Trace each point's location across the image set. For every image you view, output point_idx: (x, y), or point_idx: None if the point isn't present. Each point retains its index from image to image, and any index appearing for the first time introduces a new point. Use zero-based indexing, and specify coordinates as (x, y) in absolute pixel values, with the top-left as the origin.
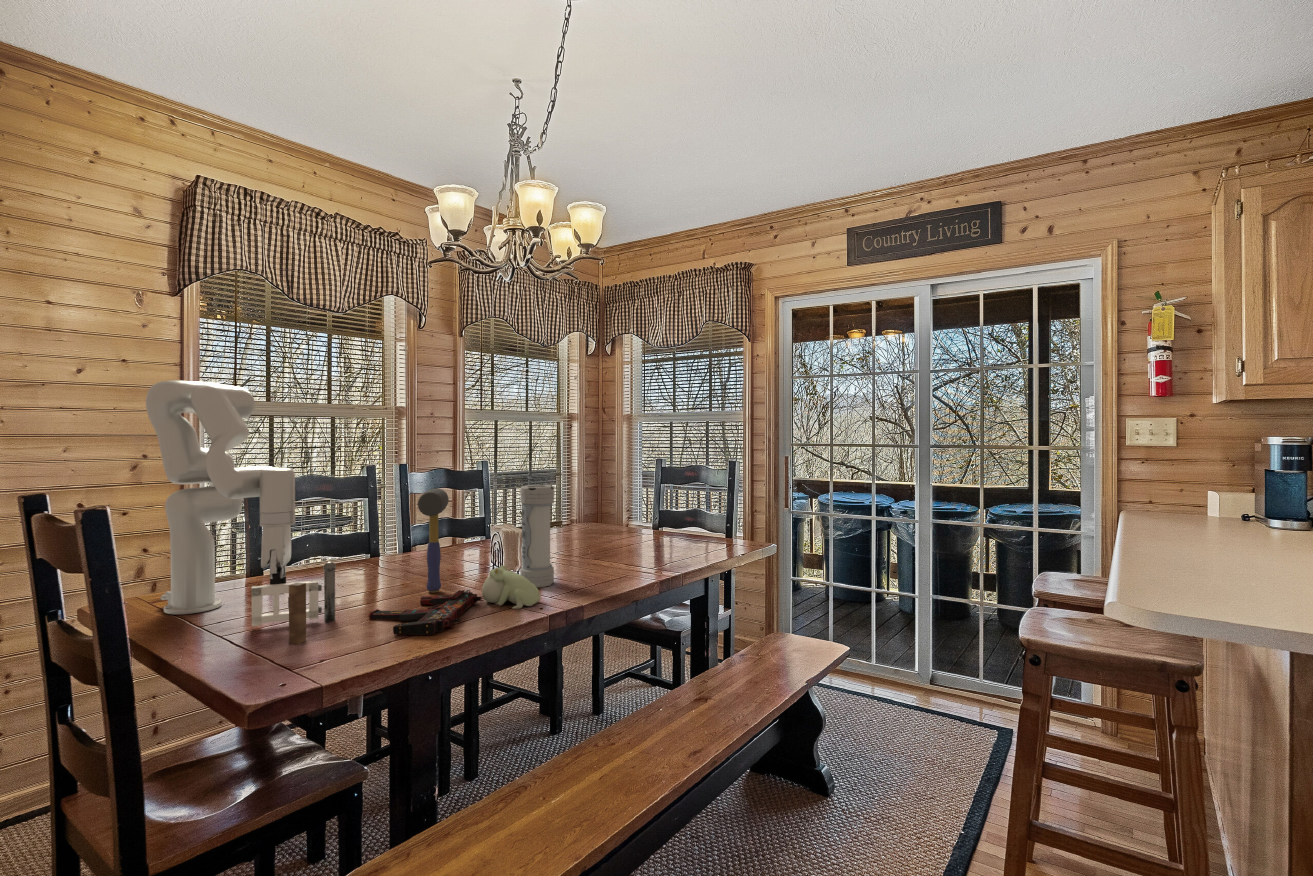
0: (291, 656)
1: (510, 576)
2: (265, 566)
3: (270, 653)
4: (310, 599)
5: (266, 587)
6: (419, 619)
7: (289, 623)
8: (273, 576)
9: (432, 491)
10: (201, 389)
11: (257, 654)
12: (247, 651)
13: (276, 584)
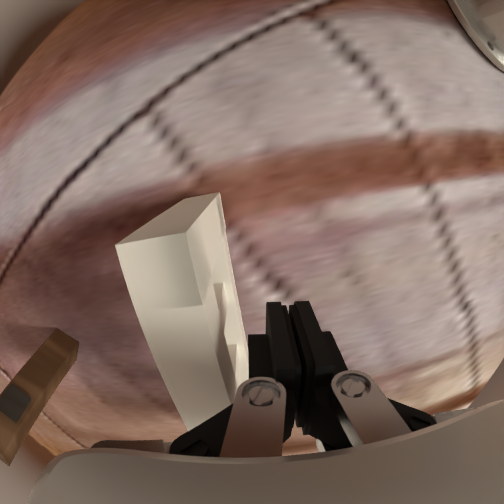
0: (5, 334)
1: None
2: (260, 458)
3: (9, 297)
4: None
5: (147, 340)
6: None
7: (31, 358)
8: (221, 418)
9: None
10: None
11: (3, 273)
12: (14, 246)
13: (218, 386)
